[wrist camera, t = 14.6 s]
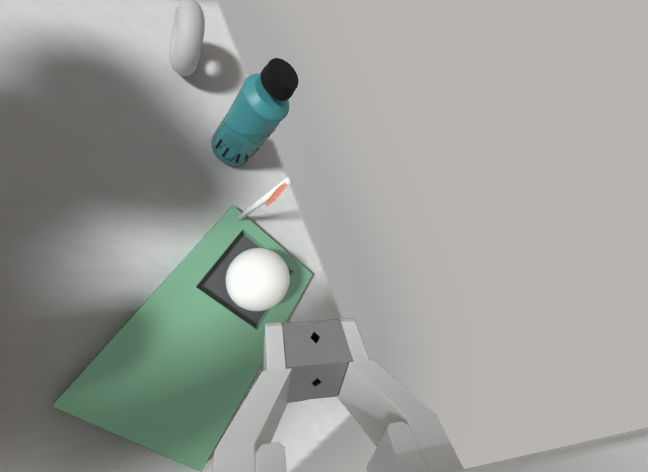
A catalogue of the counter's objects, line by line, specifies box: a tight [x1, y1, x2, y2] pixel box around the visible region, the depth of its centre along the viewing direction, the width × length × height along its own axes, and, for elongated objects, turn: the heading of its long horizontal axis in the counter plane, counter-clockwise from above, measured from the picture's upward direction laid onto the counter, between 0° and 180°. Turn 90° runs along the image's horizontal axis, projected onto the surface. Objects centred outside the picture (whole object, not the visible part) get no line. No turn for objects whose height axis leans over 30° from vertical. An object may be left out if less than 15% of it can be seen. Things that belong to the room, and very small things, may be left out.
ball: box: [226, 248, 290, 311], centre depth 40 cm, size 9×9×9 cm
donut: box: [170, 0, 205, 76], centre depth 41 cm, size 10×3×10 cm, turn 7°
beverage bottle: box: [211, 58, 298, 166], centre depth 39 cm, size 6×7×20 cm
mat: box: [52, 178, 313, 472], centre depth 33 cm, size 30×18×18 cm, turn 149°
